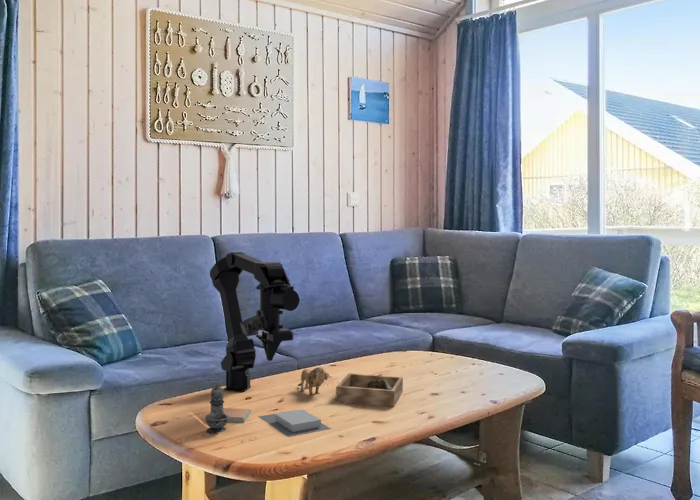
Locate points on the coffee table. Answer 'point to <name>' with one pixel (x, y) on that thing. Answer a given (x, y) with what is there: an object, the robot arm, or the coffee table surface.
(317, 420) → the tile
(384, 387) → the rock sample
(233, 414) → the tile
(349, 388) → the box
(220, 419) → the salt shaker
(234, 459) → the coffee table surface
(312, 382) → the lion figurine
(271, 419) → the mat
